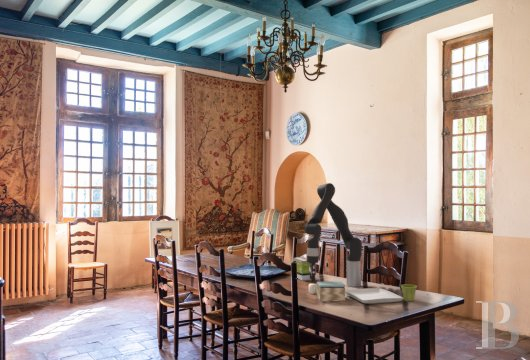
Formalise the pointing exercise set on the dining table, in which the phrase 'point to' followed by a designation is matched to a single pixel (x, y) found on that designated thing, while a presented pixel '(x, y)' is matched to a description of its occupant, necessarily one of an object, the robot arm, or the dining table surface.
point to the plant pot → (408, 292)
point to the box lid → (331, 284)
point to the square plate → (373, 295)
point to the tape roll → (312, 288)
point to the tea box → (302, 268)
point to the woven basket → (330, 294)
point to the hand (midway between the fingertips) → (312, 280)
